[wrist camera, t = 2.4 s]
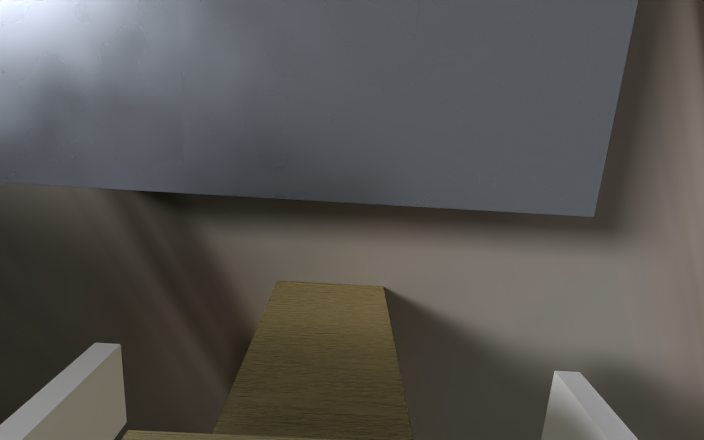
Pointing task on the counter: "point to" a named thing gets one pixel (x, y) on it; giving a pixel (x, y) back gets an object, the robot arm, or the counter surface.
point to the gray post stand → (317, 99)
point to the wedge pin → (314, 372)
